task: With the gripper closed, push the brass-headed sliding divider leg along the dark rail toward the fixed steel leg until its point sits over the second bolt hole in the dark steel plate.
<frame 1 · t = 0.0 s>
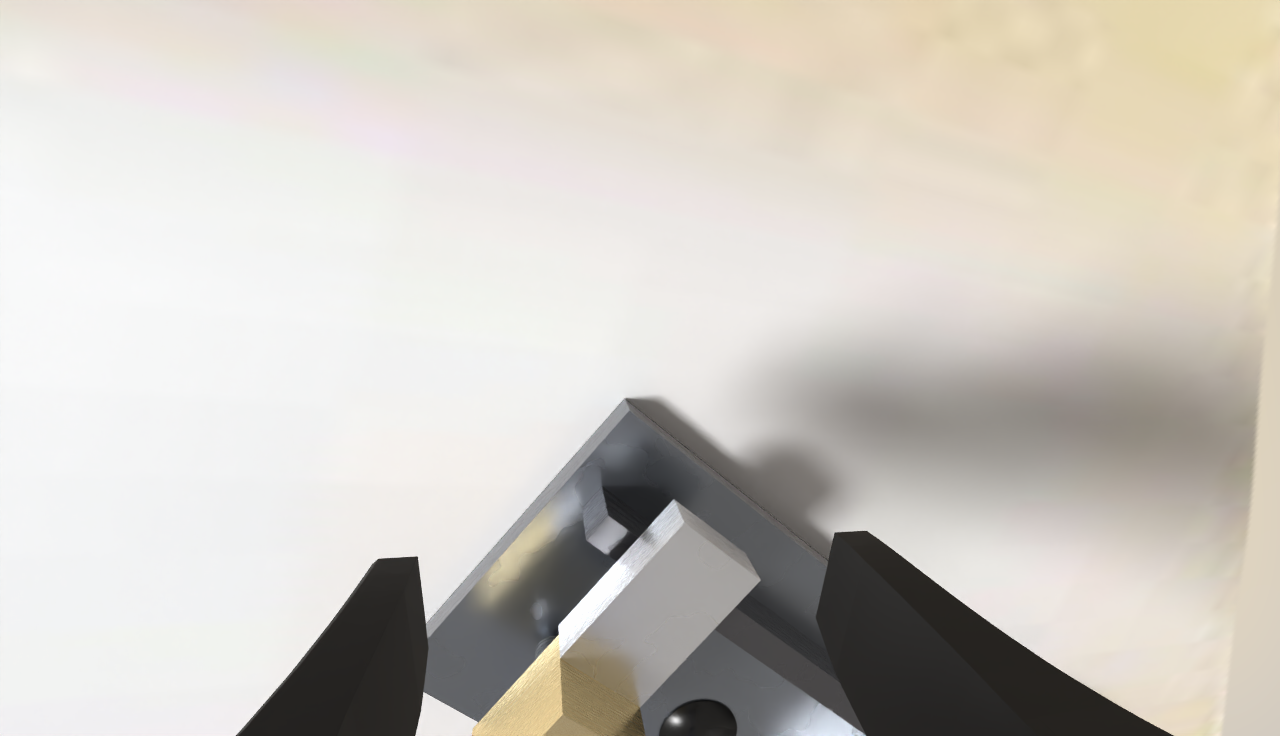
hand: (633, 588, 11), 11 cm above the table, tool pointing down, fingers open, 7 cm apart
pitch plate: (759, 696, 26), on the table
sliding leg: (612, 651, 19), point 4 cm above the table, slide at 7.0 cm
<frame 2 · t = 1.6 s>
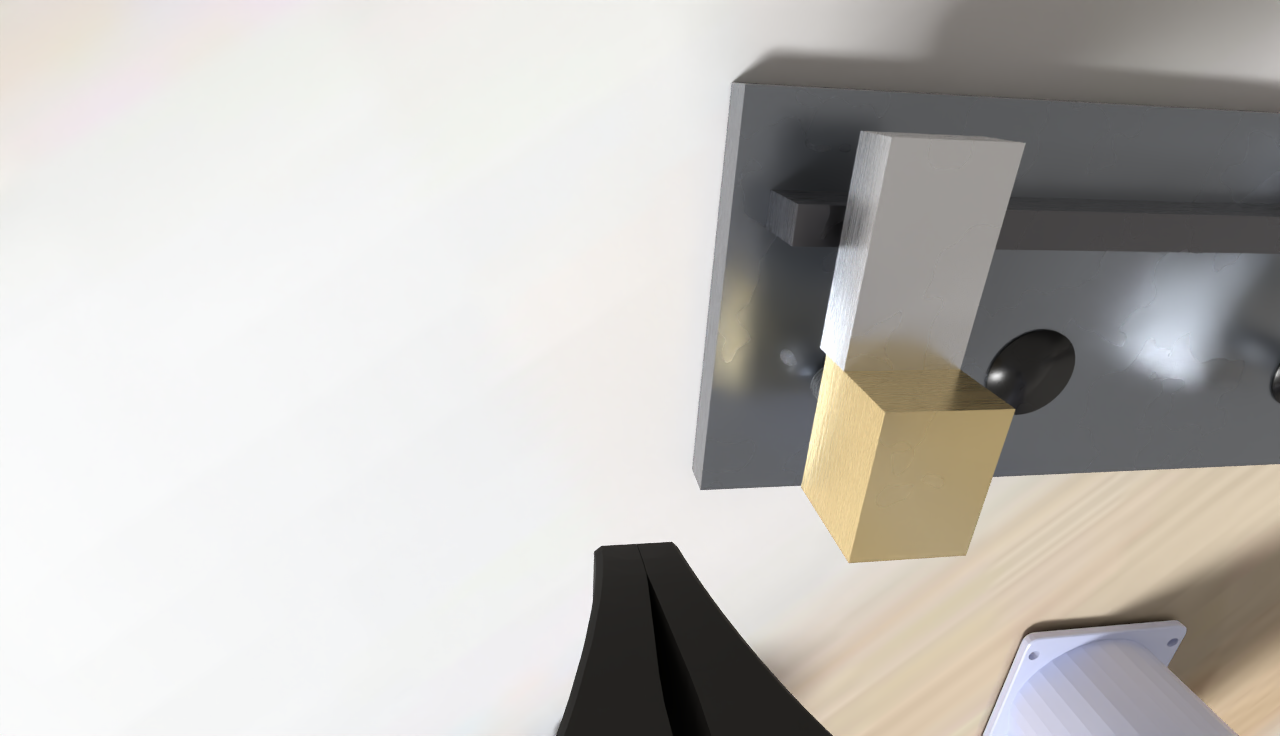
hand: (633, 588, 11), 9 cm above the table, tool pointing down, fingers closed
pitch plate: (1077, 301, 21), on the table
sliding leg: (893, 335, 16), point 4 cm above the table, slide at 7.0 cm
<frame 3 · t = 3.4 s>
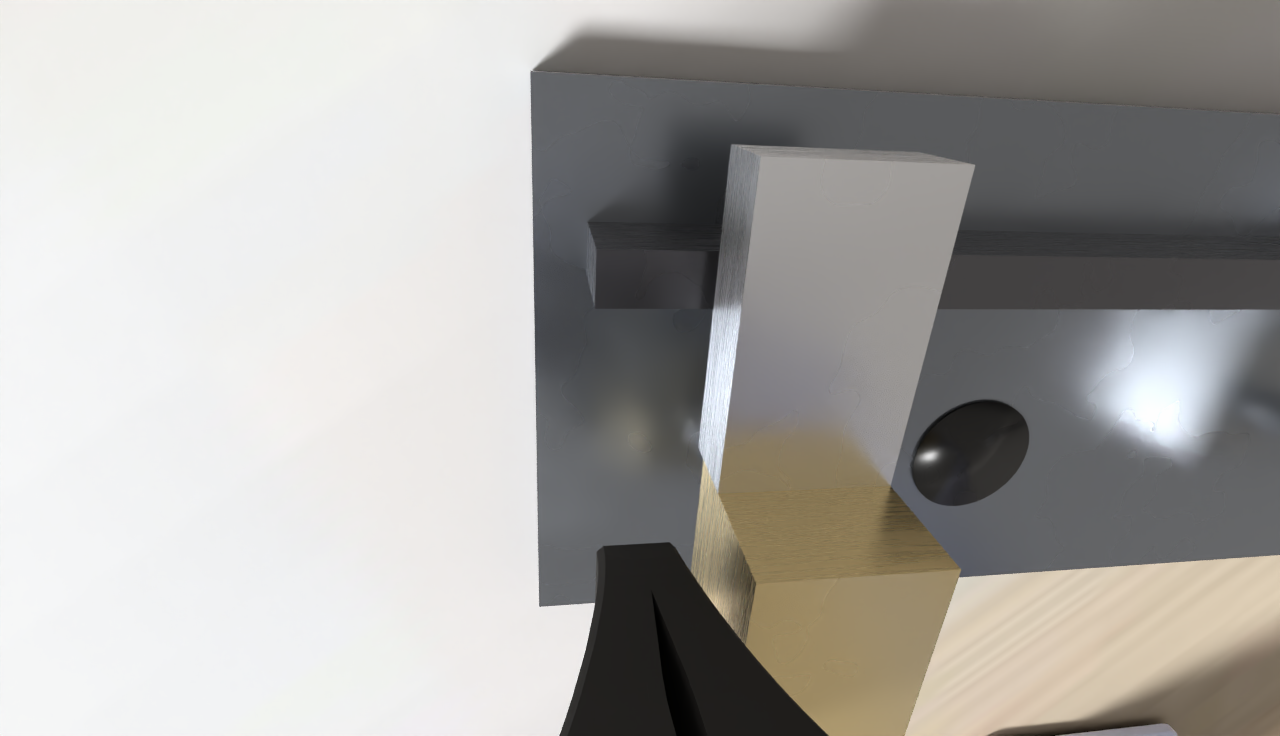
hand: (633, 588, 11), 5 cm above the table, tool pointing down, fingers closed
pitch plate: (1033, 359, 16), on the table
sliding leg: (796, 436, 11), point 4 cm above the table, slide at 6.1 cm, touching gripper
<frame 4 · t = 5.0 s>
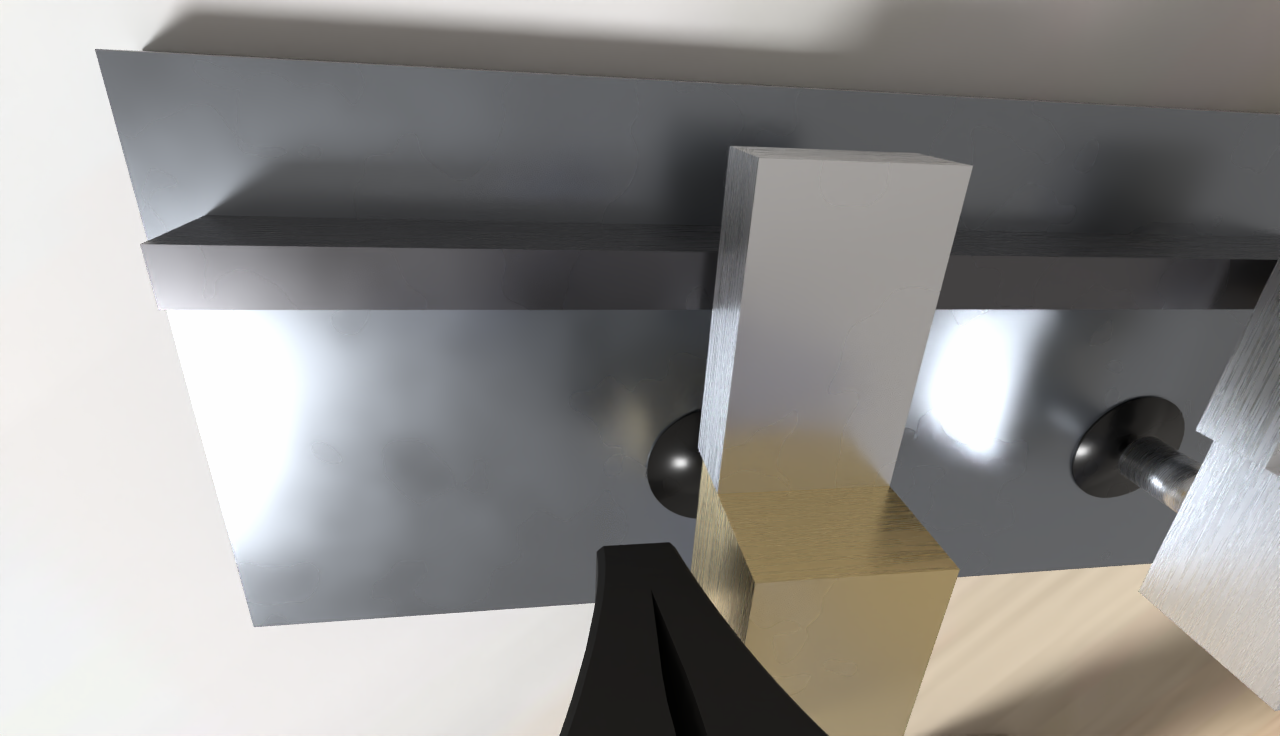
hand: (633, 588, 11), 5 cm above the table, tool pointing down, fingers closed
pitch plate: (788, 362, 15), on the table
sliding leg: (795, 436, 11), point 4 cm above the table, slide at -0.4 cm, touching gripper
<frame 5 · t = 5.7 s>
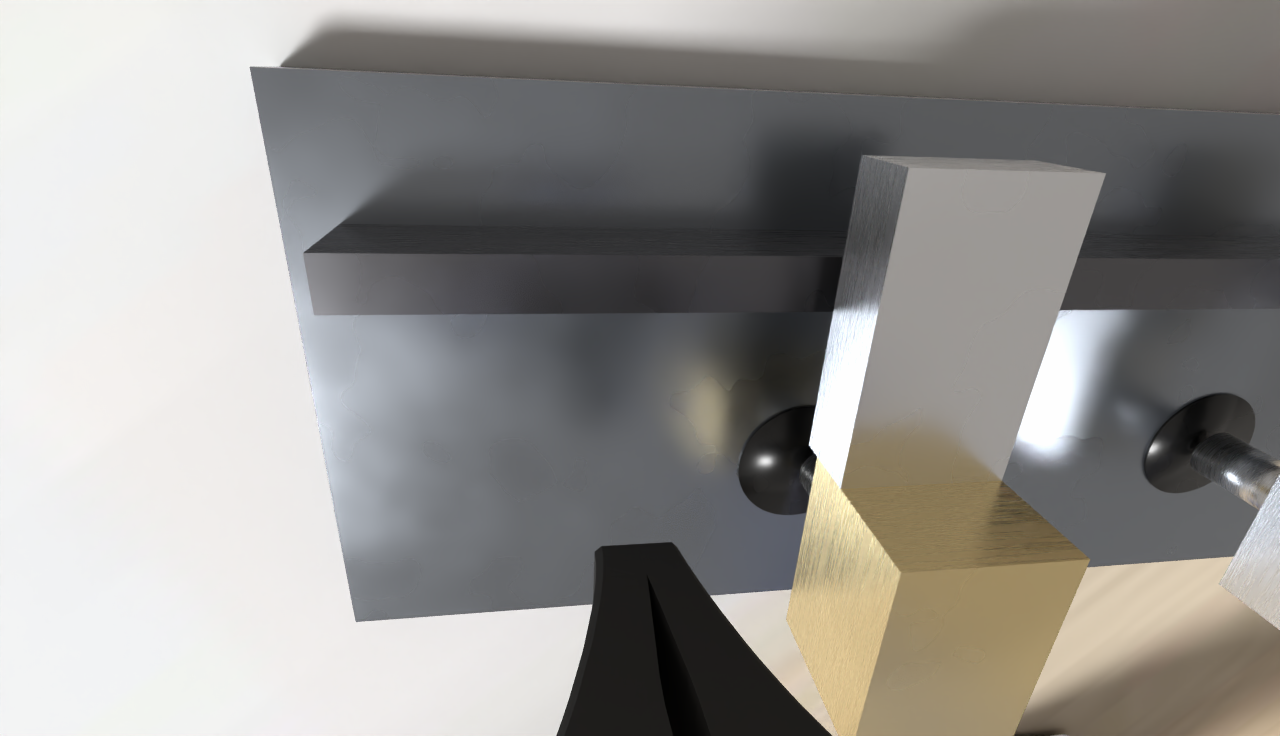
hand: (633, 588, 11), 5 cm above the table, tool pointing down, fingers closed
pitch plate: (871, 362, 16), on the table
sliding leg: (909, 433, 11), point 4 cm above the table, slide at -0.4 cm
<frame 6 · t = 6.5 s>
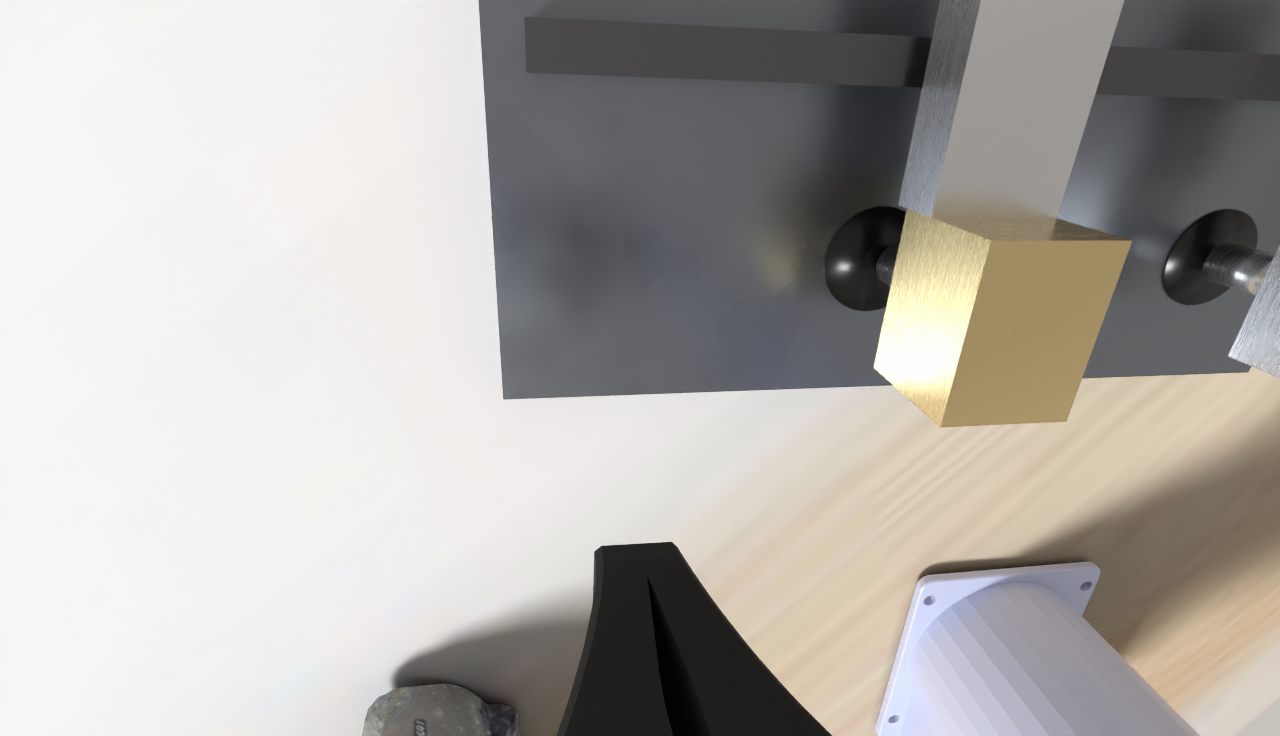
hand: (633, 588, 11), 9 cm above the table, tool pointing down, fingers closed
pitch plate: (932, 181, 19), on the table
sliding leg: (982, 184, 14), point 4 cm above the table, slide at -0.4 cm
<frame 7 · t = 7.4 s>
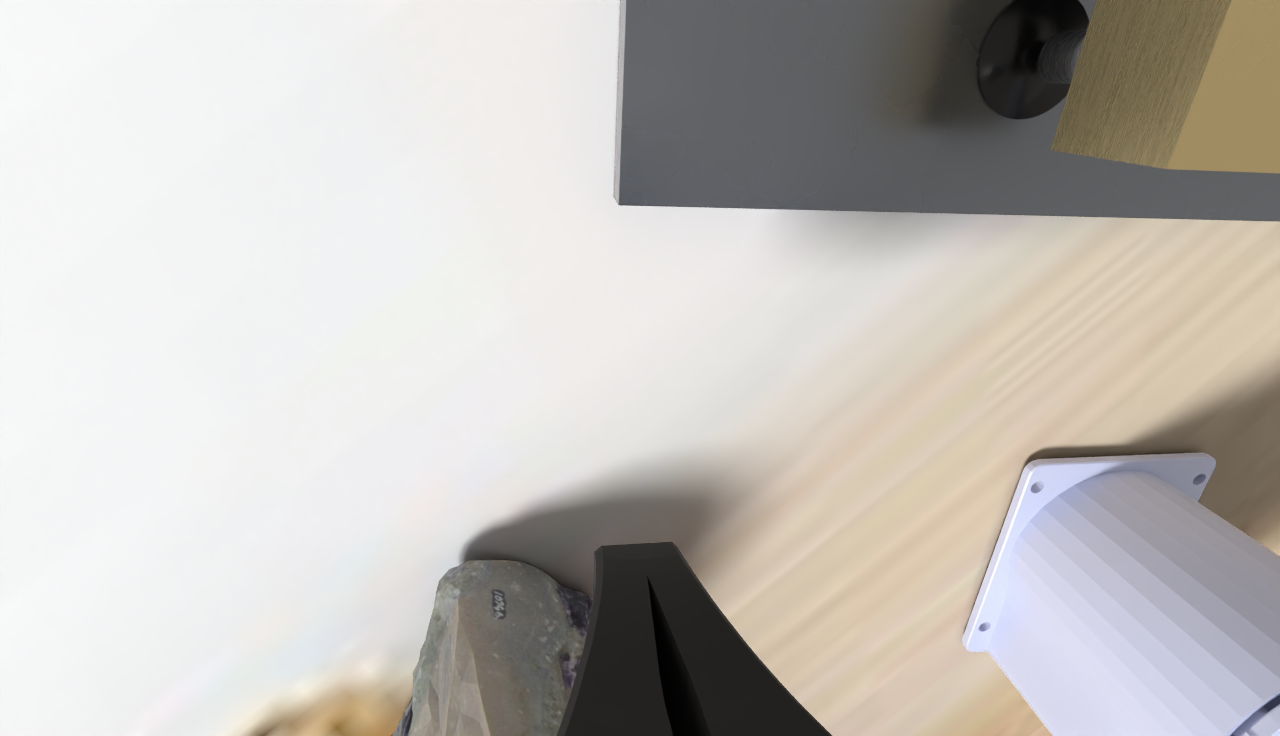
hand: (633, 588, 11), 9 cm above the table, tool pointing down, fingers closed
mineral rock: (463, 677, 25), on the table
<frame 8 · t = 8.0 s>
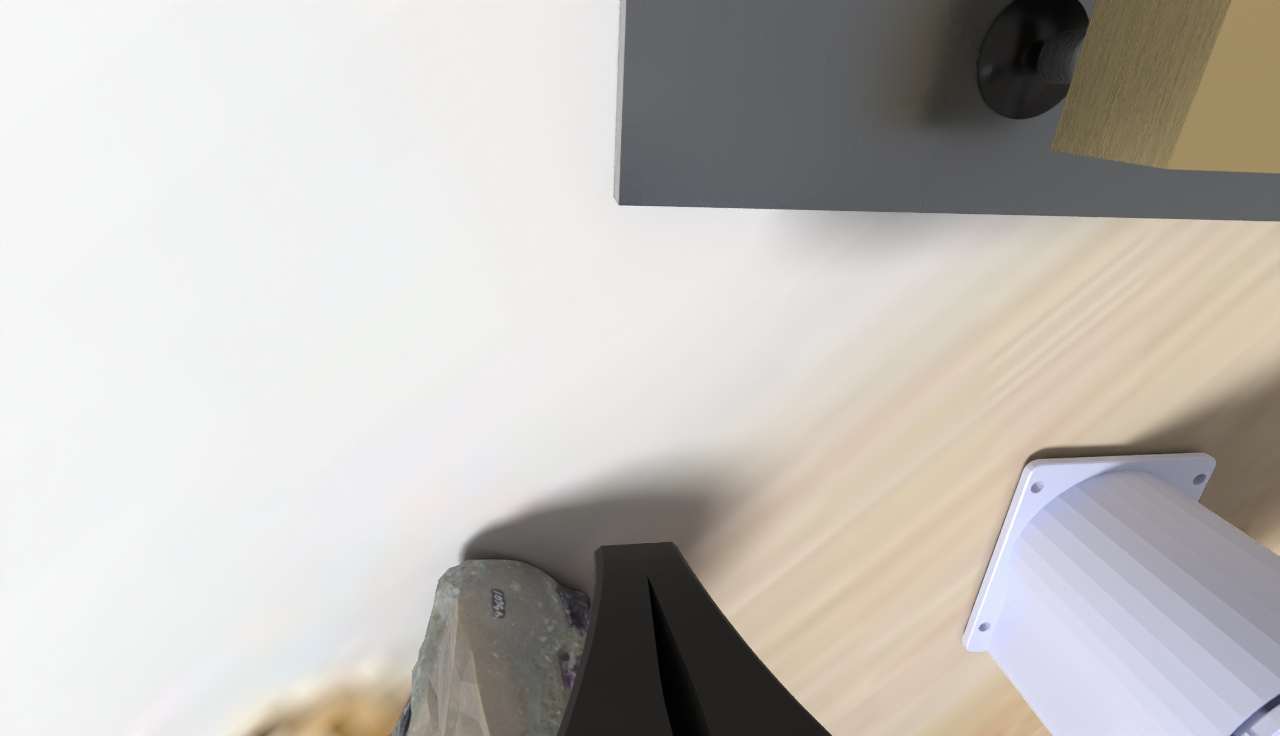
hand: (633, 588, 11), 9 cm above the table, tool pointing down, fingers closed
mineral rock: (462, 676, 25), on the table
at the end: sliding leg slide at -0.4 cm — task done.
